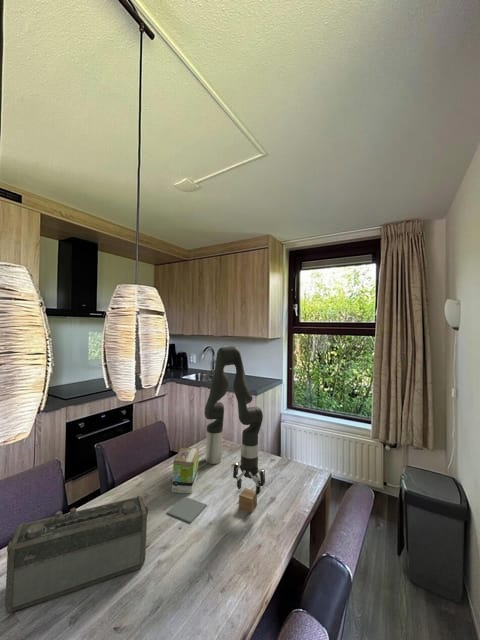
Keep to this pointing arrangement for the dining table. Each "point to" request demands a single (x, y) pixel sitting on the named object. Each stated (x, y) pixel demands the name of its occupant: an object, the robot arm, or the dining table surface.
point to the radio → (74, 551)
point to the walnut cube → (247, 500)
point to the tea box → (185, 470)
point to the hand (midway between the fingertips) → (248, 491)
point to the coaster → (187, 509)
